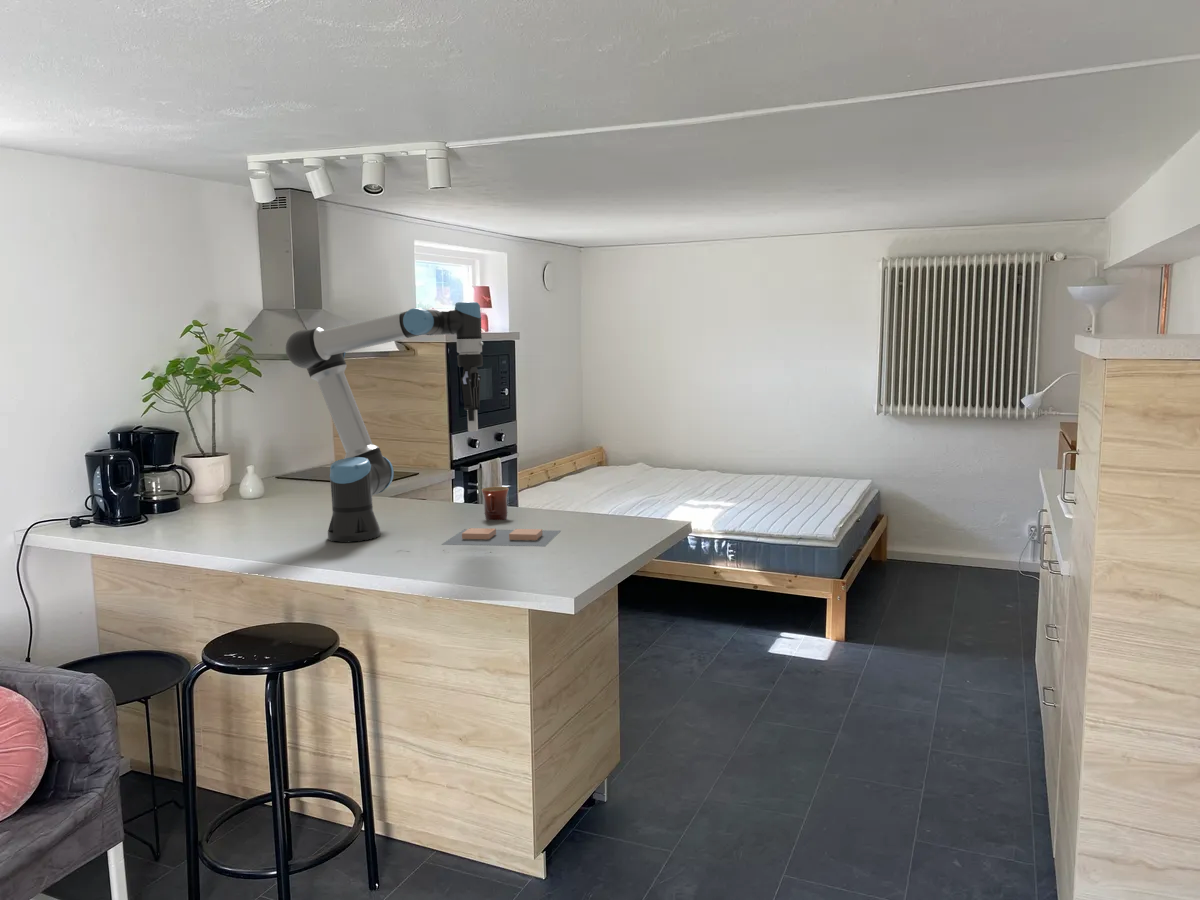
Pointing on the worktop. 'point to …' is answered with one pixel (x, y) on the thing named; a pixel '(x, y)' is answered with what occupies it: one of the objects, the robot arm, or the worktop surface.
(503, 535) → the mat
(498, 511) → the mug
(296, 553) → the worktop surface
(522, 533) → the tile
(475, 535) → the tile
